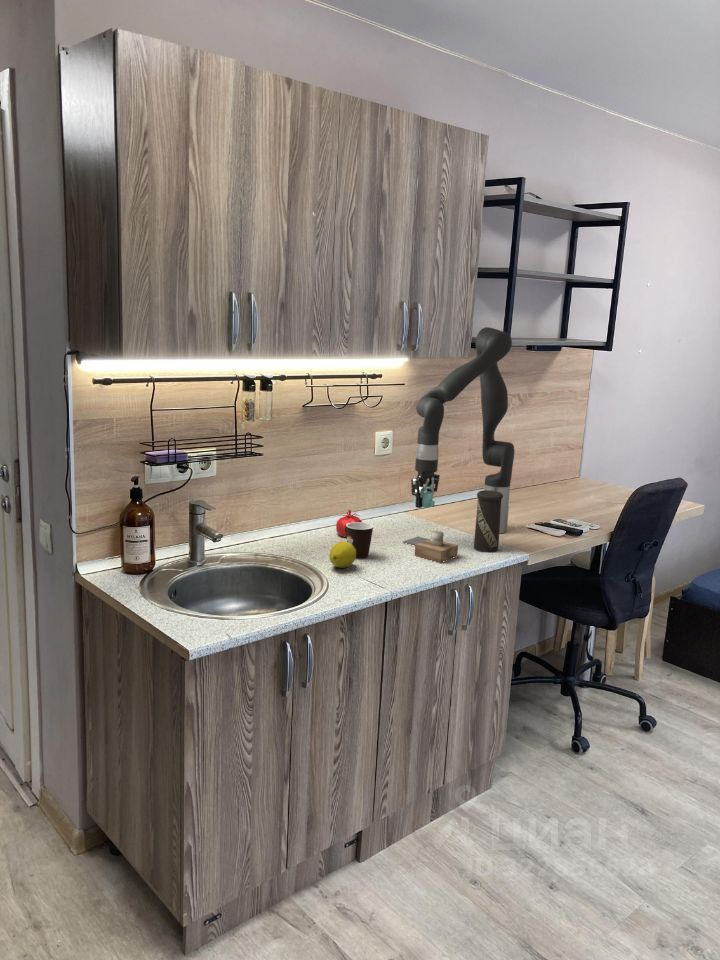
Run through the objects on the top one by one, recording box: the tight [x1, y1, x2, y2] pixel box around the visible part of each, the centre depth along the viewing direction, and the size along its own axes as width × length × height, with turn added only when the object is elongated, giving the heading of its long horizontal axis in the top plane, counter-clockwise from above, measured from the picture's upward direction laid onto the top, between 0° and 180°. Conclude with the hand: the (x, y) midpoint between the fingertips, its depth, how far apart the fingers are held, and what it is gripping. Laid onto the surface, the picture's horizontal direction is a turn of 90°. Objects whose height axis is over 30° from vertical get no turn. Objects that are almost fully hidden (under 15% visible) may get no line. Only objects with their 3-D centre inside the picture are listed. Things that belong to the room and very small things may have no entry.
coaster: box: [402, 536, 431, 547], centre depth 270 cm, size 9×9×1 cm
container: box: [473, 489, 503, 553], centre depth 265 cm, size 9×9×20 cm
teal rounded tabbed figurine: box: [413, 490, 436, 508], centre depth 266 cm, size 8×6×4 cm
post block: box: [414, 530, 459, 564], centre depth 255 cm, size 10×10×8 cm
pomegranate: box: [335, 509, 364, 539], centre depth 274 cm, size 10×10×9 cm
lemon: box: [328, 541, 357, 569], centre depth 239 cm, size 11×8×8 cm
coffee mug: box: [345, 521, 374, 560], centre depth 253 cm, size 12×9×10 cm
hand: (423, 506), depth 267 cm, fingers closed on teal rounded tabbed figurine, 5 cm apart
